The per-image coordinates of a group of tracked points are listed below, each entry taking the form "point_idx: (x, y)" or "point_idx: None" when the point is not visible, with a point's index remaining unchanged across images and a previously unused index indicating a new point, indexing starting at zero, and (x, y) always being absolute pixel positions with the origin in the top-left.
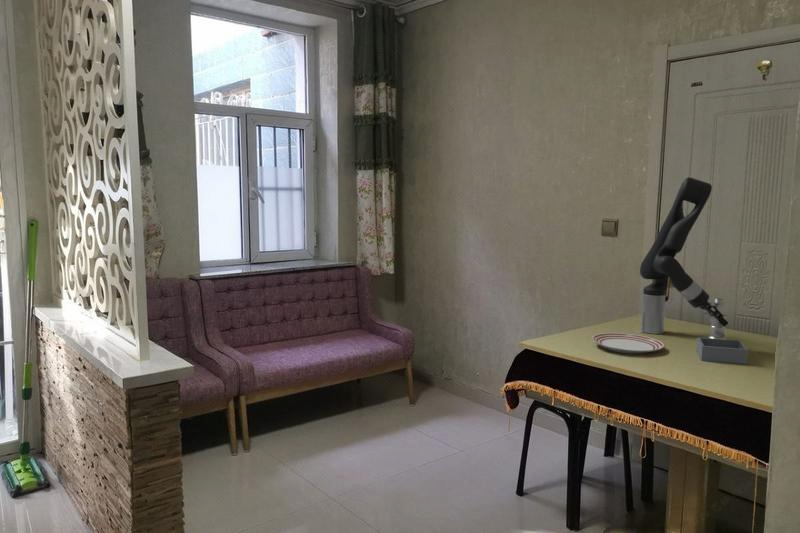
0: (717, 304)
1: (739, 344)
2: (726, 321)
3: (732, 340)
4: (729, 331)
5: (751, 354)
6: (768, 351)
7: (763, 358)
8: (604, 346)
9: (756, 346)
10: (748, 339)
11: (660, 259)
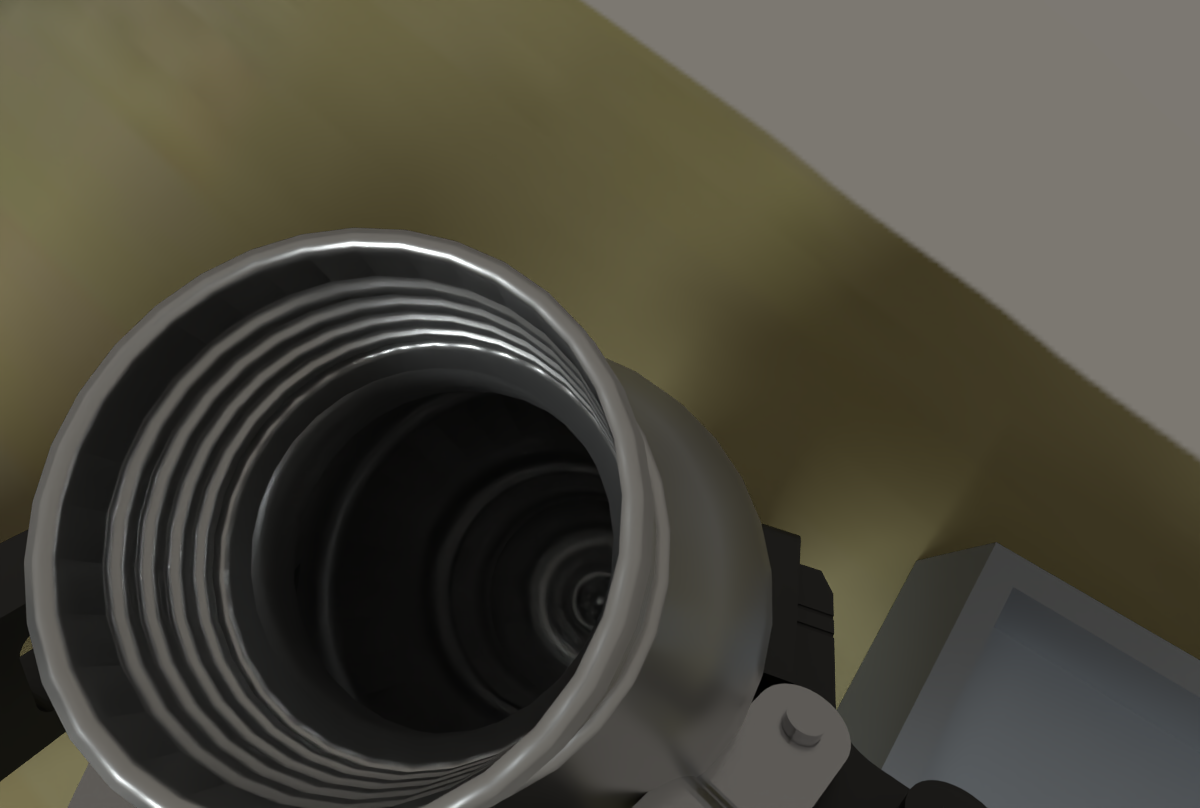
0: (517, 730)
1: (1087, 642)
2: (793, 570)
3: (974, 657)
4: (129, 19)
5: (929, 430)
6: (836, 190)
7: (1103, 431)
8: None
9: (645, 163)
10: (410, 60)
11: None
